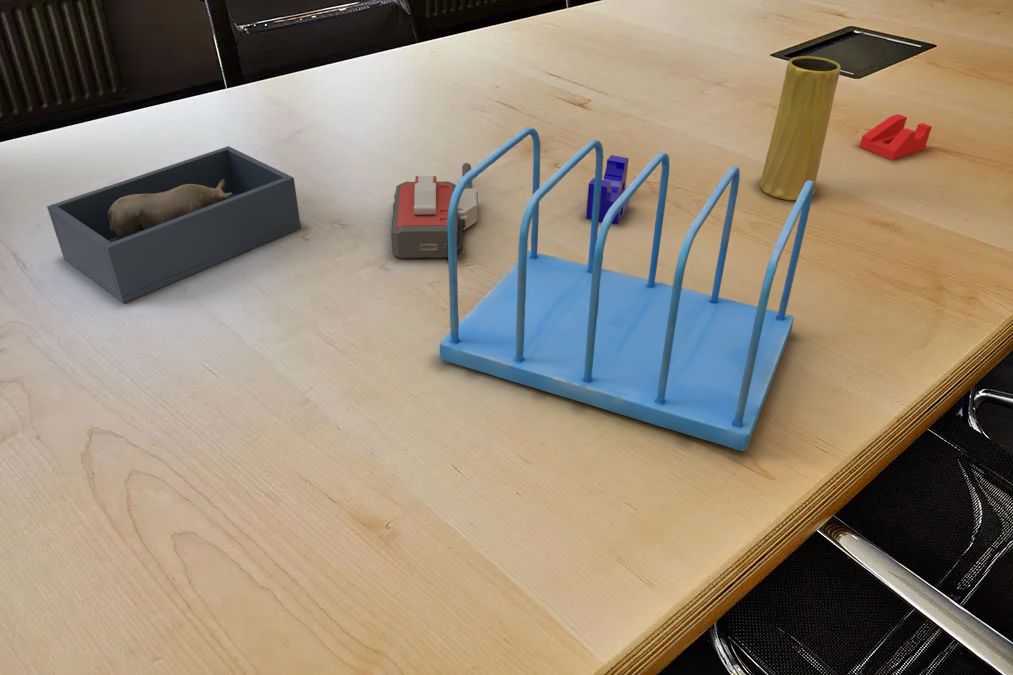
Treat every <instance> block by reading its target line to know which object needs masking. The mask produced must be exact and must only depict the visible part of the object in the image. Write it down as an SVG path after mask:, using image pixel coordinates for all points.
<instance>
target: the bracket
mask: <svg viewBox="0 0 1013 675" xmlns="http://www.w3.org/2000/svg"><path fill="white" fill-rule="evenodd" d="M907 119H908V117H907V116H905V115H902V114H900V113H896V114H894V115H891V116H889V117H887V118H886V119H884V120H883V121H881V122H880V123H879V124H877V125H876V126H874V127H873V128H871V129H870V130H868V132H866V133H864V134H863V135H862V136H861V140H860V143H859V148H861V149H864V150H866V151H868V152H871V153H873V154H876V155H878V156H881V157H883V158H885V159H888V160H890V161H895V160H897V159H900V158H904V157H907V156H909V155H912V154H915V153H918V152H922V151H924V150H926V148H927V147H926V146H927V144H928V140H929V138H930V137H929V136H930V134H931V130H932V127H933V126H932V125H930V124H927V123H923V122H921V123H918V124H917V127H916V128H915V130H912V129H910V128H907V127H906V128H905V126H906V121H907Z"/></svg>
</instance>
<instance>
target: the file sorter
mask: <svg viewBox="0 0 1013 675" xmlns="http://www.w3.org/2000/svg"><path fill="white" fill-rule="evenodd" d="M529 136H530V137H531V139H532V143H533V144H532V148H533V149H532V150H533V151H532V152H533V154H532V155H533V156H532V159H533V160H532V163H533V164H532V195H531V197H530V199H529V201H528V202H527V205H526V207H525V209H524V212H523V214H522V218H521V222H520V228H519V236H518V250H517V252H518V253H517V254H518V255H517V262H516V263H515V264H514V265H513V266H512V267H511V268H510V269H509V270H508V271H507V272H506V273H505V274H504V275H503V276H502V277H501V279H500V280H499V281H497V283H496V284H495V285H494V286H493V287H492V288H490V290H489V291H488V292H487V293H486V294H485V295H484V296H483V297H482V298H481V299H480V300H479V301H478V303H476V304H475V305H474V306H473V307H472V309H470V310H469V312H467V314H465V316H464V317H463V318H461V319H460V318H459V289H458V286H459V283H458V282H459V281H458V255H457V237H456V218H457V209H458V205H459V201H460V197H461V195H462V193H463V191H464V189H465V187H466V186H467V185H468V184H469V182H470V181H471V180H472V181H473V180H474V179H476V178H477V177H478V176H479V175H480V174H482V173H483V172H485V171H486V170H487V169H488V168H489V167H491V165H493V164H494V163H496V161H498V160H499V159H501V157H503V156H504V155H505V154H507V152H509V151H511V149H513V148H514V147H515V146H516V145H517V144H520V143H521V142H522V141H523V140H524V139H526V138H527V137H529ZM602 144H603V143H602V142H601V141H600V140H597V139H591V140H589V141H588V142H587V143H585V144H584V145H583V146H582V147H581V148H580V149H579V150H578V151H577V152H576V153H575V154H574V155H573V156H571V157H570V158H569V159H568V160H567V161H566V162H565V163H564V164H563V165H562V166H561V167H560V168H558V169H557V171H555V172H554V173H553V174H552V175H551V176H550V177H549V178H548V179H547V180H546V181H545V182H544V183H543V184H541V183H540V182H541V139H540V135H539V132H538V131H537V129H535V128H534V127H531V126H530V127H529V126H528V127H525V128H523V129H521V130H520V131H519V132H517V133H516V134H514V135H513V136H512V137H511V138H509V139H508V140H507V141H505V142H504V143H502V145H500V146H499V147H498V148H496V149H495V150H493V151H492V152H490V154H488V155H487V156H486V157H485V158H483V159H482V160H481V161H480V162H478V163H477V164H476V165H475V166H473V167H471V170H470V171H469V172H467V173H466V174H465V175H464V176H463V177H461V178H460V179H459V180H458V182H457V184H455V185H456V187H455V189H454V192H453V194H452V197H451V200H450V204H449V210H448V258H447V260H448V288H449V290H448V292H449V293H448V294H449V327H450V331H449V333H448V334H446V335H445V337H443V339H442V340H441V341H440V342H439V359H440V360H442V361H445V362H448V363H452V364H455V365H458V366H461V367H465V368H467V369H471V370H474V371H478V372H480V373H484V374H487V375H491V376H494V377H498V378H501V379H504V380H506V381H511V382H514V383H517V384H521V385H524V386H527V387H531V388H534V389H537V390H540V391H543V392H547V393H550V394H553V395H557V396H560V397H562V398H567V399H570V400H573V401H576V402H580V403H583V404H586V405H590V406H593V407H596V408H600V409H602V410H606V411H609V412H613V413H616V414H619V415H622V416H625V417H629V418H631V419H636V420H639V421H642V422H644V423H649V424H651V425H654V426H658V427H662V428H664V429H668V430H672V431H675V432H678V433H681V434H684V435H688V436H691V437H694V438H698V439H701V440H704V441H708V442H711V443H714V444H717V445H721V446H725V447H728V448H731V449H734V450H736V451H740V452H745V451H747V450H748V448H749V445H750V442H751V439H752V436H753V433H754V431H755V428H756V426H757V423H758V420H759V417H760V415H761V412H762V410H763V407H764V404H765V403H766V399H767V396H768V394H769V391H770V389H771V386H772V384H773V380H774V378H775V375H776V372H777V370H778V367H779V364H780V362H781V359H782V356H783V354H784V351H785V348H786V346H787V343H788V341H789V338H790V336H791V334H792V330H793V326H794V320H795V317H794V316H793V315H792V314H789V313H786V312H787V310H788V309H787V308H788V305H789V301H790V296H791V292H792V288H793V283H794V280H795V279H794V278H795V275H796V270H797V265H798V261H799V257H800V253H801V249H802V243H803V241H804V240H803V239H804V237H805V231H806V227H807V222H808V219H809V214H810V210H811V205H812V201H813V196H814V195H813V191H814V182H813V181H809V180H808V181H806V182H805V184H804V186H803V188H802V190H801V192H800V194H799V196H798V198H797V200H796V201H795V202H794V205H793V207H792V209H791V211H790V213H789V214H788V217H787V219H786V221H785V223H784V225H783V227H782V229H781V231H780V234H779V236H778V237H777V240H776V242H775V244H774V247H773V250H772V252H771V255H770V257H769V261H768V264H767V267H766V270H765V274H764V277H763V281H762V285H761V290H760V293H759V299H758V303H757V305H756V306H755V305H752V304H748V303H743V302H740V301H736V300H732V299H728V298H722V297H719V296H720V291H721V286H722V281H723V280H722V279H723V274H724V271H725V270H724V269H725V264H726V260H727V252H728V248H729V242H730V236H731V231H732V227H733V219H734V214H735V210H736V208H735V207H736V204H737V198H738V193H739V188H740V187H739V185H740V179H741V178H740V174H741V170H740V167H739V166H735V165H732V166H730V167H729V168H728V170H727V171H726V172H725V173H724V175H723V177H722V178H721V180H720V181H719V183H718V184H717V185H716V187H715V188H714V190H713V191H712V193H711V194H710V196H709V197H708V199H707V200H706V202H705V203H704V205H703V206H702V207H701V210H699V212H698V214H697V215H696V217H695V219H694V220H693V221H692V222H691V223H692V224H690V227H689V229H688V230H687V232H686V234H685V237H684V239H683V242H682V245H681V248H680V251H679V254H678V258H677V263H676V267H675V271H674V277H673V281H672V282H673V283H672V284H667V283H663V282H660V281H656V277H657V268H658V260H659V254H660V247H661V238H662V232H663V224H664V217H665V209H666V202H667V192H668V186H669V185H668V184H669V179H670V178H669V176H670V157H669V155H668V153H667V152H662V151H660V152H658V153H657V154H656V155H655V156H654V157H653V158H652V159H651V160H650V161H649V162H648V163H647V165H646V166H645V167H644V168H643V169H642V170H641V172H639V174H638V175H636V177H635V178H634V180H632V182H631V183H630V184H629V185H628V187H626V188H625V191H624V192H623V193H622V194H621V196H620V197H619V198H618V199H617V200H616V201H615V203H614V204H613V205H612V206H611V207H610V209H609V210H608V212H607V214H606V215H605V217H604V220H603V222H602V221H601V225H600V227H599V221H598V220H599V208H600V196H601V183H602V180H603V169H604V148H603V145H602ZM594 149H595V150H594ZM592 150H594V151H595V170H594V178H595V183H594V195H593V208H592V219H591V223H590V224H591V225H590V237H589V249H588V250H589V251H588V262H587V264H584V263H580V262H576V261H572V260H568V259H563V258H560V257H556V256H551V255H548V254H547V255H546V254H543V253H539V252H538V245H539V244H538V242H539V217H540V202H541V200H542V199H543V198H544V197H545V196H546V195H547V194H548V193H549V192H550V191H551V190H552V189H553V188H554V187H555V186H556V185H557V184H558V183H559V182H560V181H561V180H562V179H563V178H564V177H565V176H566V175H567V174H568V173H569V172H570V171H571V170H572V169H574V168H575V167H576V165H578V164H579V163H580V162H581V161H582V160H583V159H584V158H585V157H586V156H587V155H588V154H589V153H591V151H592ZM660 164H661V173H660V181H659V190H658V201H657V208H656V215H655V222H654V231H653V239H652V247H651V254H650V256H651V257H650V265H649V271H648V279H647V278H642V277H639V276H635V275H631V274H628V273H627V274H626V273H623V272H622V273H621V272H618V271H614V270H610V269H606V268H603V260H604V250H605V245H606V240H607V236H608V234H609V230H610V228H611V226H612V221H613V219H614V217H615V216H616V215H617V213H618V212H619V211H620V210H621V208H622V207H623V206H624V205H625V204H626V203H627V201H628V200H629V201H630V199H631V198H632V197H633V195H634V194H635V193H636V191H637V190H638V189H639V188H640V187H641V186H642V185H643V184H644V183H645V181H646V180H647V179H648V178H649V177H650V176H651V174H652V173H653V172H654V171H655V170H656V168H657V167H658V166H659V165H660ZM729 184H730V189H729V195H728V200H727V208H726V212H725V216H724V223H723V227H722V232H721V233H722V234H721V239H720V246H719V252H718V257H717V262H716V268H715V273H714V278H713V279H714V280H713V284H712V292H711V294H708V293H704V292H700V291H696V290H691V289H687V288H683V280H684V276H685V271H686V266H687V262H688V258H689V255H690V251H691V248H692V245H693V244H694V243H693V242H694V241H695V239H696V237H697V235H698V233H699V231H700V229H701V228H702V227H703V225H704V223H705V222H706V220H707V218H708V217H709V215H710V214H711V212H712V210H713V209H714V208H715V206H716V205H717V203H718V201H719V200H720V198H721V197H722V195H723V194H724V192H725V191H726V189H727V187H728V186H729ZM540 185H541V186H540ZM798 218H799V220H798ZM797 220H798V224H797V228H796V232H795V237H794V241H793V246H792V250H791V255H790V258H789V263H788V267H787V271H786V272H787V273H786V277H785V280H784V285H783V290H782V295H781V299H780V302H779V307H778V308H779V309H778V311H777V310H773V309H768V305H769V304H768V303H769V299H770V294H771V291H772V285H773V282H774V279H775V275H776V271H777V268H778V265H779V262H780V259H781V256H782V255H783V254H782V253H783V251H784V249H785V247H786V244H787V242H788V240H789V238H790V236H791V234H792V231H793V229H794V227H795V224H796V223H797ZM530 227H531V232H529V230H530ZM598 230H599V231H598ZM529 233H530V234H531V235H530V236H531V237H530V251H528V247H529V246H528V244H529V243H528V242H529ZM459 319H460V321H459Z"/></svg>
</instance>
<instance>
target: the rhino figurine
mask: <svg viewBox="0 0 1013 675" xmlns="http://www.w3.org/2000/svg"><path fill="white" fill-rule="evenodd" d="M224 187H225V182H224V180H223V179H222V180H221V181H220V183H219V184H218V186H217V188H216V189H214V188H209V187H206V186H202V185H196V184H185V185H181V186H179V187H176V188H174V189H171V190H169V191H166V192H161V193H156V194H133V195H128V196H124V197H121V198H119V199H118V200H116V201H115V202H114V203H113V204H112V206H111V207H110V209H109V211H108V217H109V221H110V230H111V232H112V233H113V234H114V235H115V236H116V239H115V240H114V241H117V240H119V239H122V238H125V237H127V236H130V235H133V234H135V233H138V232H139V231H143V230H146V229H149V228H151V227H154V226H157V225H159V224H162V223H165V222H167V221H170V220H173V219H175V218H178V217H181V216H183V215H186V214H189V213H191V212H194V211H197V210H199V209H202V208H205V207H207V206H210V205H213V204H215V203H218V202H221V201H223V200H226V199H229V198H230V197H231V196H232V192H230V193H226V194H225V193H224V192H223V189H224ZM114 241H113V242H114Z"/></svg>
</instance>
